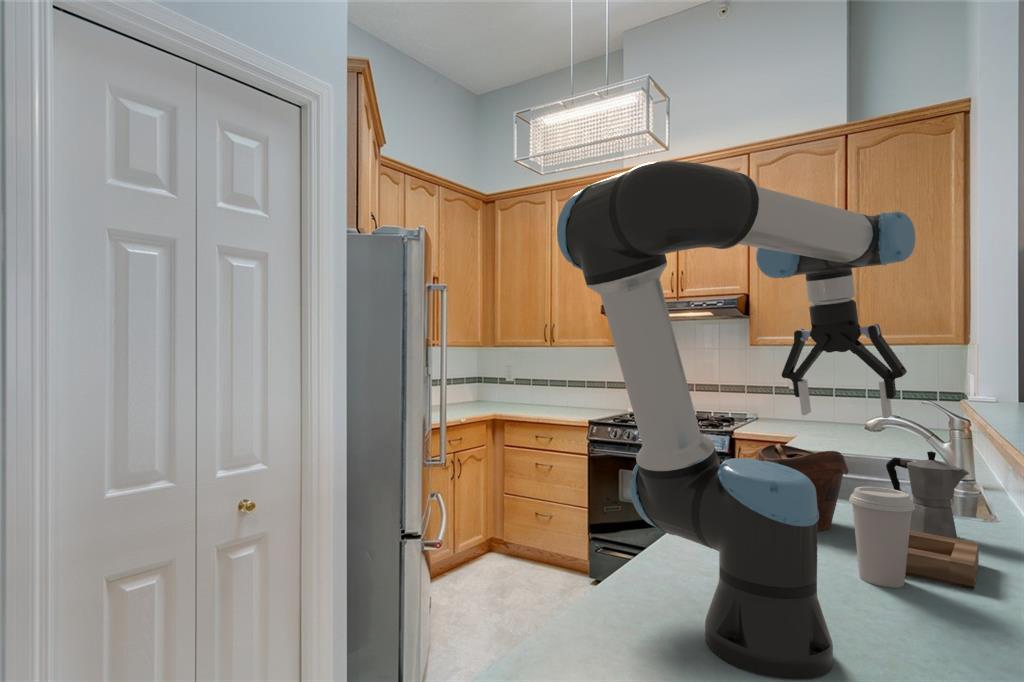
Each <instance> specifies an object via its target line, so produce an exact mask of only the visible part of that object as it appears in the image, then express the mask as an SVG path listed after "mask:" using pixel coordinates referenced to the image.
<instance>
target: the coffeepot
mask: <svg viewBox="0 0 1024 682" xmlns="http://www.w3.org/2000/svg"><path fill="white" fill-rule="evenodd" d="M926 453H927V454H926V455H927V458H928V459H921V460H912V459H906V458H902V457H892V458H891V459H890V460H888V462H887V463H886V464H885V469H886V470H887V473H888V476H889V480H890V482H891V485H892V487H893V489H894V490H898V491H902V492H905V493H907V491H904V490H901V484H900V483H901V482H900V480H899V478H898V474H897V469H896V467H900V468H902V469H907V470H908V478H909V484H910V488H911V494H912V501H913V504H914V506H915V510H913V511H912V514H911V523H910V531H914V532H920V533H926V534H932V535H937V536H943V537H949V538H955V539H958V535H957V534H958V533H957V529H956V524H955V517H954V513H953V509H952V500H953V498H954V494H955V489H956V488H957V486H958V485H959V483H960V482H961V481H962V480H963V479H964V478H965V477H966V476H968V475H970V472H969V471H968V470H965V469H963V468H961V467H958V466H956V465H952V464H949V463H945V462H942V461H939V460H936V456H937V455H936V454H937V452H935V451H931V450H930V451H927V452H926ZM907 494H908V493H907Z"/></svg>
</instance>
